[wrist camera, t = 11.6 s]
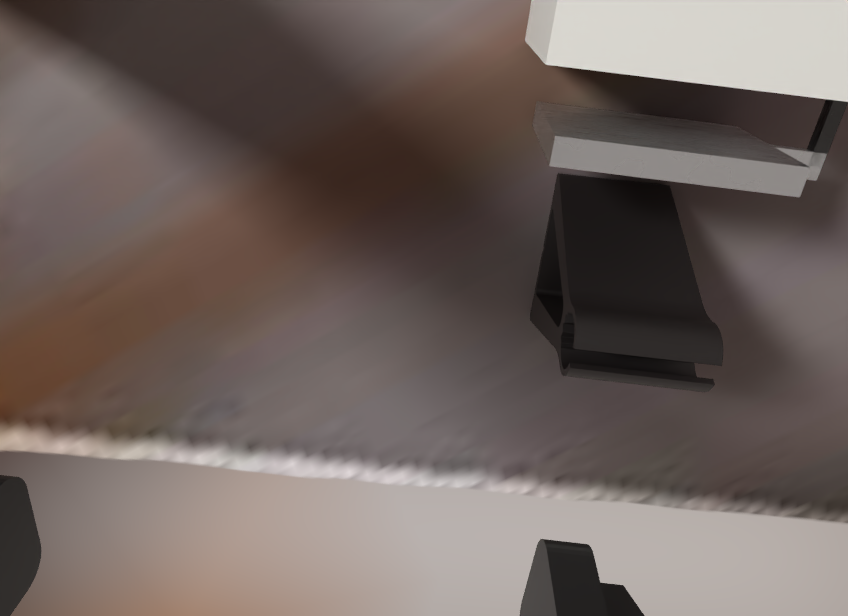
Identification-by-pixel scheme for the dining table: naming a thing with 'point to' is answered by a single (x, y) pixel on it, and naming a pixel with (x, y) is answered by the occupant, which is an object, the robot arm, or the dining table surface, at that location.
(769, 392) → the dining table surface
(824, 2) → the box
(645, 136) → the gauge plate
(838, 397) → the dining table surface
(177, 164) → the dining table surface
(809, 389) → the dining table surface
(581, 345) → the phone stand
